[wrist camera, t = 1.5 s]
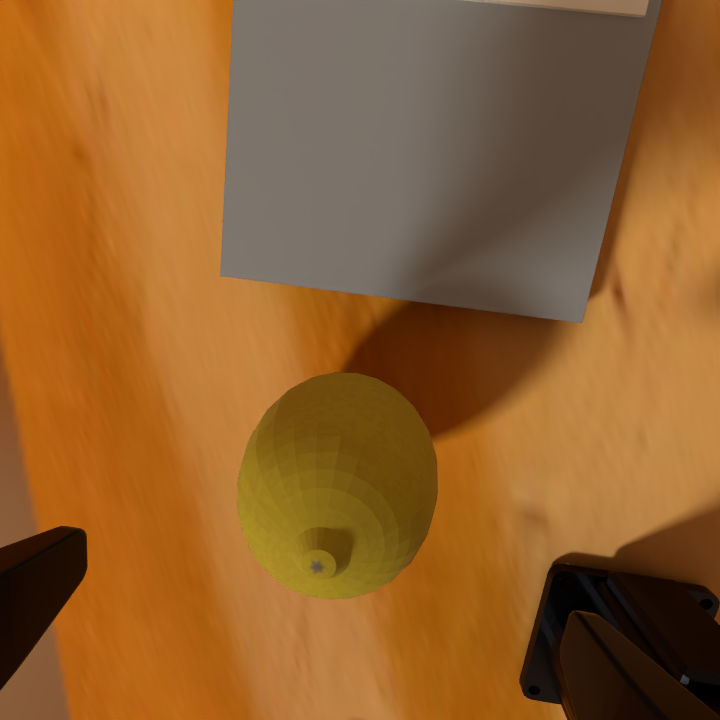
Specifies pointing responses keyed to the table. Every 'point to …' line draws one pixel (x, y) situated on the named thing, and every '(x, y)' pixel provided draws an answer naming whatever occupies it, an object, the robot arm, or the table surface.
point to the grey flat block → (430, 146)
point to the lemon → (338, 486)
